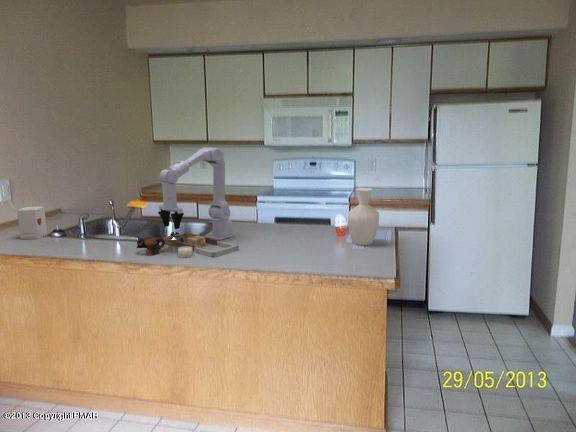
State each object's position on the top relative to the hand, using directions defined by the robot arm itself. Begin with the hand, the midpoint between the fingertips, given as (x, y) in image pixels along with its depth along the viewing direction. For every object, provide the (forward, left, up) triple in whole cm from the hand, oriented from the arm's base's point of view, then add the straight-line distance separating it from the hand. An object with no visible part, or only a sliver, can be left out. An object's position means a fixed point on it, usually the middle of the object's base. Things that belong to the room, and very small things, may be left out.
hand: (171, 227), depth 201 cm
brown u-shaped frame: (-10, -2, -10) cm, 15 cm away
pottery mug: (+9, -4, -10) cm, 14 cm away
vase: (-61, +60, -10) cm, 87 cm away
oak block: (-10, +3, -10) cm, 15 cm away
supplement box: (+30, -75, -10) cm, 81 cm away
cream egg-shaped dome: (+3, +12, -10) cm, 16 cm away
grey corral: (-10, +17, -10) cm, 22 cm away
